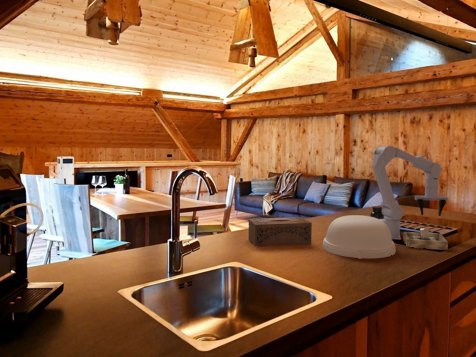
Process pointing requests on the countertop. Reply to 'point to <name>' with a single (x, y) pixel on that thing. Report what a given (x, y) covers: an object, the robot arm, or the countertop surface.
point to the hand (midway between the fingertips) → (430, 215)
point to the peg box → (425, 241)
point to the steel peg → (424, 234)
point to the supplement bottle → (377, 212)
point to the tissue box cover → (280, 231)
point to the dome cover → (359, 237)
